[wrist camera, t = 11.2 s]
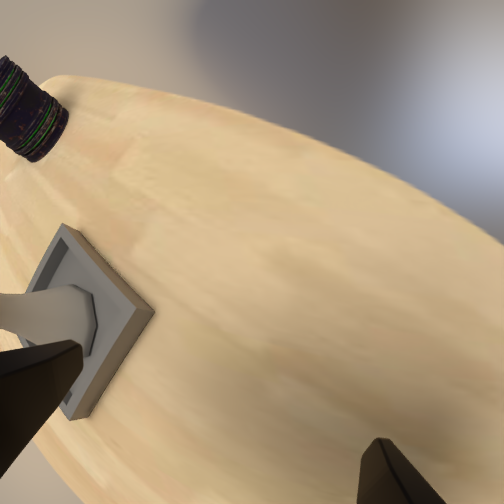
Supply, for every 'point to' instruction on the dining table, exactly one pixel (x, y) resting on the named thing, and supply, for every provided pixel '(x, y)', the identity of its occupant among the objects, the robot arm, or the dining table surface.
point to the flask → (50, 315)
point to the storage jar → (28, 114)
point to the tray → (105, 310)
